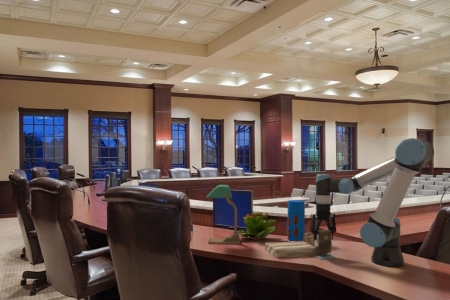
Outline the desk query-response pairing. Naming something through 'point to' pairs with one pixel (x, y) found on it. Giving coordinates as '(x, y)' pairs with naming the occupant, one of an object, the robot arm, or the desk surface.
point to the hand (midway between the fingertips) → (323, 245)
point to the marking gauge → (320, 241)
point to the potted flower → (257, 226)
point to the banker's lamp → (225, 192)
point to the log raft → (291, 249)
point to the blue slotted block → (296, 220)
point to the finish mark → (325, 256)
